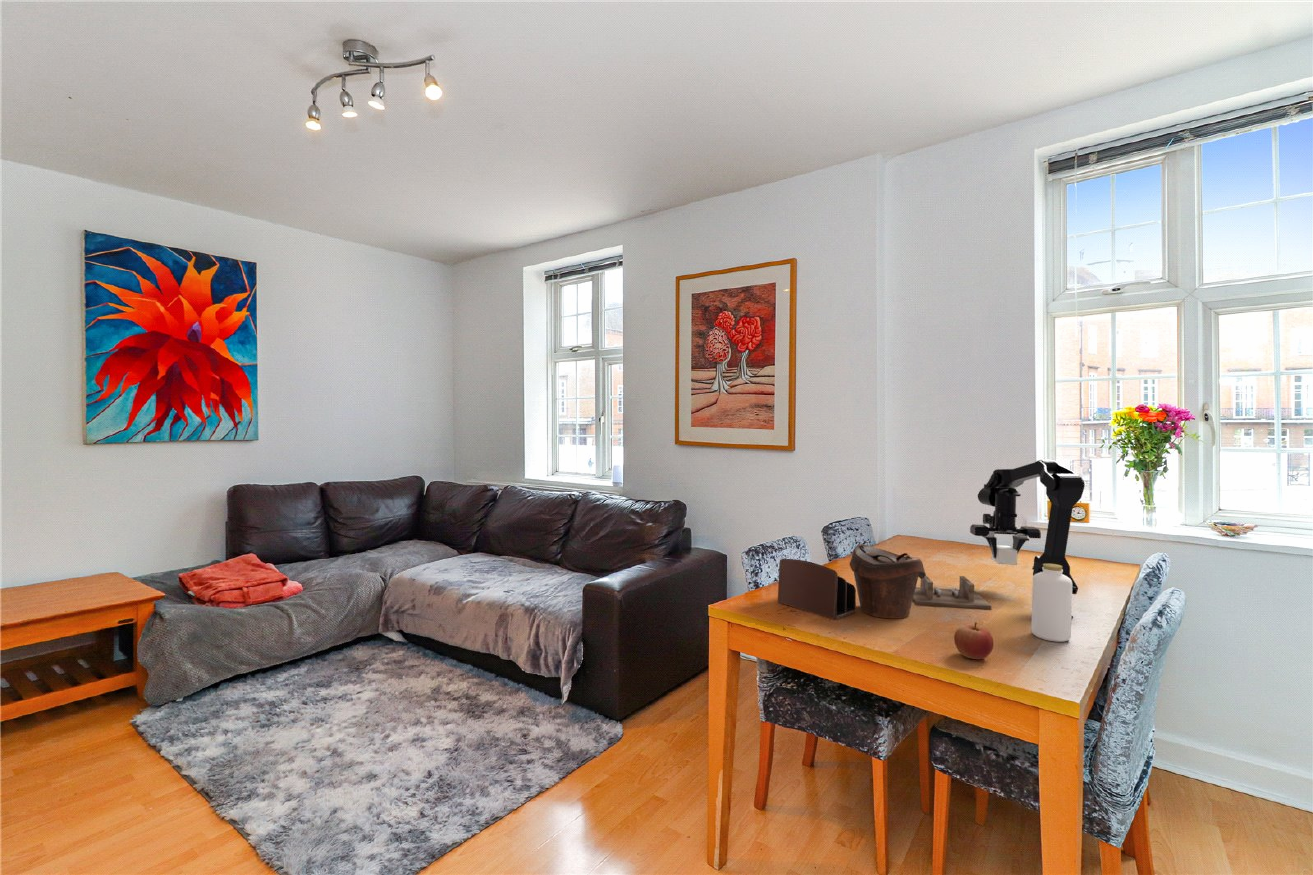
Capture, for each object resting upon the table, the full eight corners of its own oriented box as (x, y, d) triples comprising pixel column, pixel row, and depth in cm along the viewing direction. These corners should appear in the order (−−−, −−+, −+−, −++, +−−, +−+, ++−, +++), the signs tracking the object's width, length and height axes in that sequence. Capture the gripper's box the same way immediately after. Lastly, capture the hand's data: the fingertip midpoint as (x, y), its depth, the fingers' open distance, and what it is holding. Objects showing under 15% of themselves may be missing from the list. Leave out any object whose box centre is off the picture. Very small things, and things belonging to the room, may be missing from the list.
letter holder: (835, 620, 164) (836, 568, 163) (777, 603, 179) (777, 555, 179) (856, 613, 170) (857, 563, 170) (798, 597, 185) (798, 551, 185)
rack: (991, 609, 174) (991, 588, 174) (916, 604, 178) (917, 584, 178) (973, 593, 190) (974, 574, 190) (905, 589, 194) (906, 570, 193)
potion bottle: (1033, 629, 158) (1035, 559, 157) (1072, 636, 153) (1074, 564, 152) (1028, 637, 151) (1030, 565, 151) (1068, 646, 146) (1071, 571, 146)
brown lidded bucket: (932, 625, 160) (932, 556, 160) (852, 620, 164) (853, 553, 164) (917, 605, 178) (917, 544, 177) (845, 601, 182) (846, 541, 181)
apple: (983, 651, 143) (984, 617, 142) (999, 665, 135) (1000, 629, 134) (948, 649, 143) (948, 616, 143) (961, 663, 135) (962, 627, 135)
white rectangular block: (1017, 565, 188) (1017, 550, 188) (999, 564, 189) (999, 549, 189) (1008, 559, 196) (1008, 545, 195) (991, 558, 197) (991, 544, 196)
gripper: (1027, 506, 198) (1026, 554, 198) (965, 504, 202) (964, 551, 202) (1042, 511, 187) (1040, 562, 188) (976, 509, 191) (975, 559, 191)
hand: (1004, 558), depth 192 cm, fingers closed on white rectangular block, 5 cm apart
